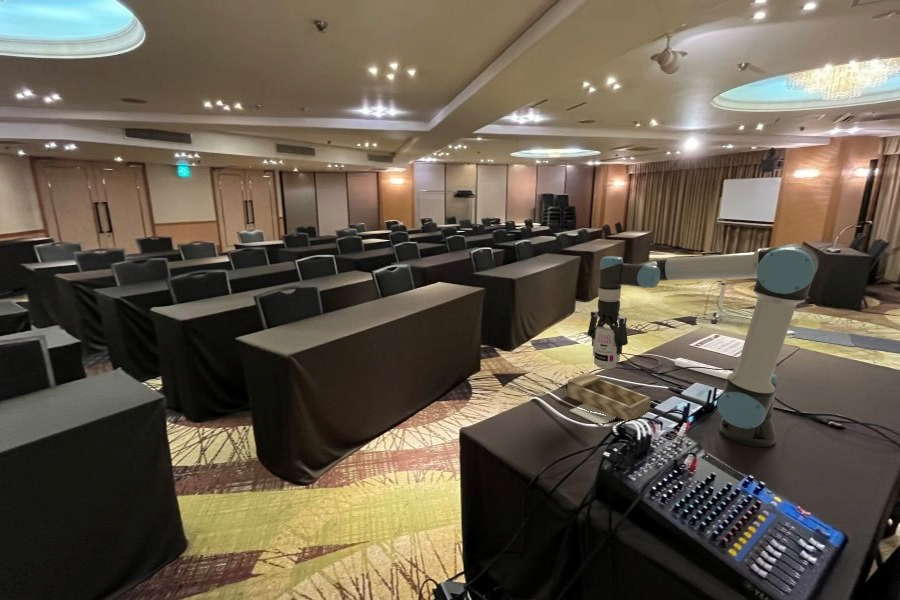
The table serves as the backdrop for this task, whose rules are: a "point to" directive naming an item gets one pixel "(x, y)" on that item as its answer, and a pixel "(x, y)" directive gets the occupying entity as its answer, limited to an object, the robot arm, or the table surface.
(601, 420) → the mat
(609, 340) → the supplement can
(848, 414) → the table surface
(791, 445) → the table surface
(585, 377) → the crate
